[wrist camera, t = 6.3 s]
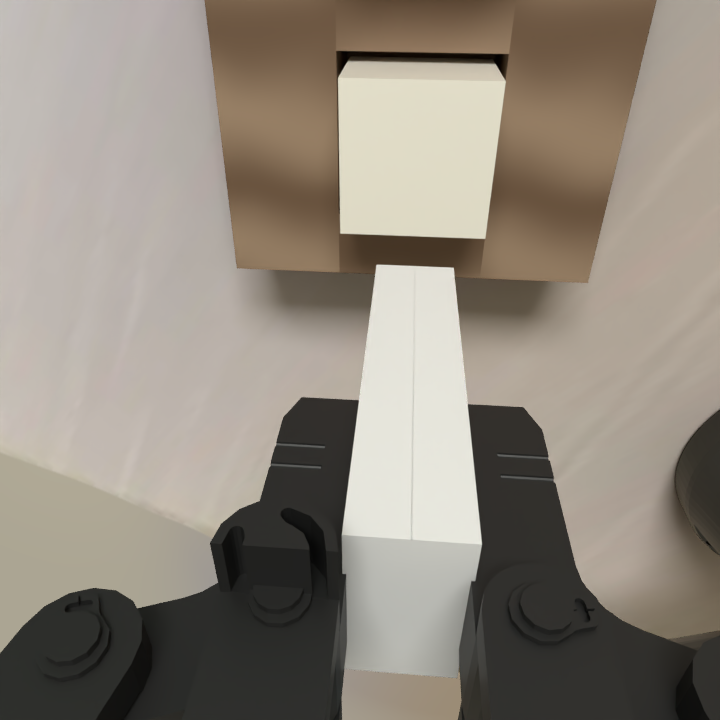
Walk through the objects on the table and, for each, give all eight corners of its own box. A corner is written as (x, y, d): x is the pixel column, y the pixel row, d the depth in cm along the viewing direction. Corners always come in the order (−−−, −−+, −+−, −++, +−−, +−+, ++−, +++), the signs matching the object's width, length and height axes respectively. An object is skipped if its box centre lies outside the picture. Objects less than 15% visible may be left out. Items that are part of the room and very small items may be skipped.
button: (476, 197, 27) (485, 239, 24) (351, 193, 28) (340, 233, 24) (492, 59, 24) (505, 81, 20) (350, 56, 24) (338, 77, 21)
